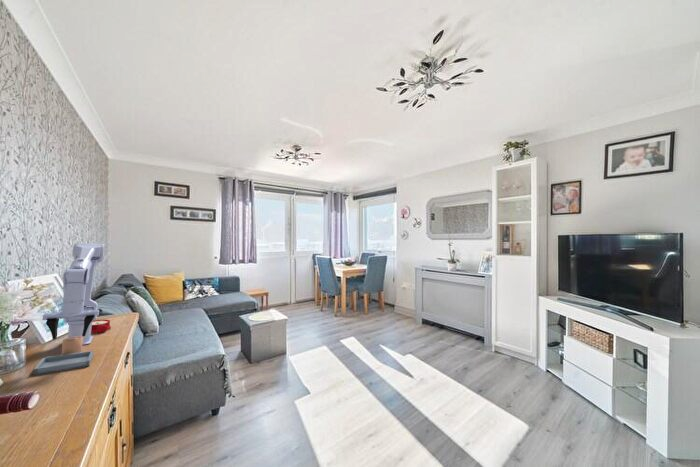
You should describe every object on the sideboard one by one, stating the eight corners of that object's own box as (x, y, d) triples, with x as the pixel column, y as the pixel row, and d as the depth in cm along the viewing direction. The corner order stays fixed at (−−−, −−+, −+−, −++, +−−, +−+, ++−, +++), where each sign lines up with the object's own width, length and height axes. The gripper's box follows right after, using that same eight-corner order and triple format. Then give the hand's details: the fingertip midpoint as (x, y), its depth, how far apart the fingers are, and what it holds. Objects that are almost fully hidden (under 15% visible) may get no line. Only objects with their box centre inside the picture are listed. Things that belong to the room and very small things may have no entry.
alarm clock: (114, 318, 141) (108, 319, 129) (112, 331, 140) (106, 333, 128) (87, 320, 136) (78, 321, 124) (85, 333, 134) (76, 336, 122)
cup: (62, 353, 106) (64, 337, 106) (82, 351, 109) (84, 335, 109) (59, 359, 101) (61, 342, 102) (79, 356, 105) (81, 339, 105)
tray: (42, 362, 98) (43, 357, 98) (93, 355, 106) (93, 350, 106) (33, 375, 89) (33, 369, 89) (89, 366, 98) (89, 360, 98)
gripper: (41, 304, 92) (37, 344, 92) (98, 301, 101) (94, 337, 100) (47, 300, 98) (43, 337, 97) (101, 297, 107) (97, 331, 106)
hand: (69, 337), depth 99 cm, fingers open, 7 cm apart
